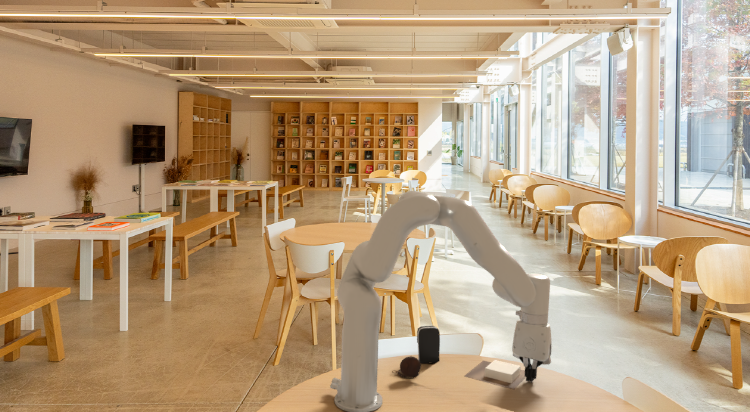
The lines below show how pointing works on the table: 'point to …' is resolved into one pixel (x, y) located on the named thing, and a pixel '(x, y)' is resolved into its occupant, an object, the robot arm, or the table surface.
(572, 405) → the table surface
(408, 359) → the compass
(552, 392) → the table surface
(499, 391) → the table surface
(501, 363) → the coaster
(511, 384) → the board
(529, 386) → the table surface
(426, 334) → the battery charger
